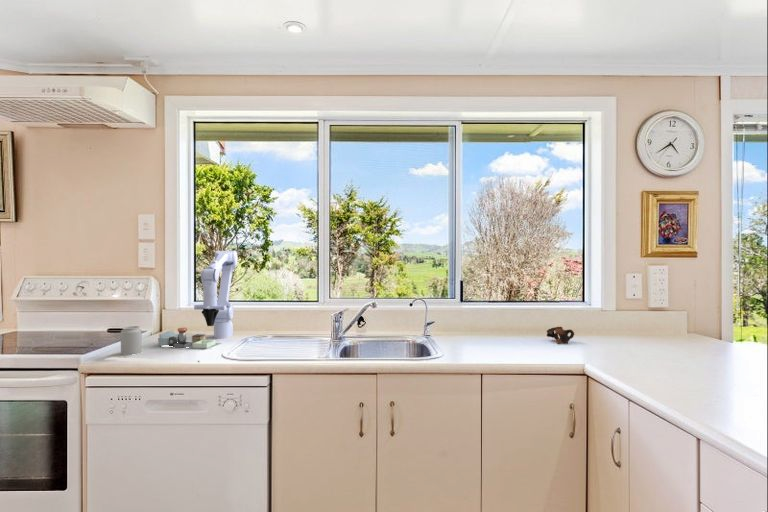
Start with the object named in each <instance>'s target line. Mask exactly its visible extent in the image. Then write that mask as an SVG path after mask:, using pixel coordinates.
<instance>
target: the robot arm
mask: <svg viewBox="0 0 768 512" xmlns="http://www.w3.org/2000/svg"><path fill="white" fill-rule="evenodd" d="M237 265H238V252H237V250H216V251H215V253H214V260H212V261H211V262H210V263H209V265H208V266H207V268H203V269H202V270H201V272H200V280H201V285H202V287H203V288H202V290H203V291H202V295H203V297H202V299H203V303H202V304H194V306H193V309H194V310H195V311H196V310H197V311H198V310H202V311H201V314H202V316H203V317H204V320H205V323H206V326H207V327H213V338H214V339H215V340H217V339H218V340H219V339H220V340H221V339H223V340H224V339H228V338H230V337H232V336H234V324H233V322H232V319H233V318H234V305H233V304H232V303H231V302H230V301H229V297H230V291H231V284H232V283H231V282H232V276H233V271H234V270H235V269H237ZM220 273H221V277H220ZM219 278H220V284H219V285H220V286H219V291H218V281H219Z"/></svg>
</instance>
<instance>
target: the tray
mask: <svg viewBox="0 0 768 512" xmlns="http://www.w3.org/2000/svg"><path fill="white" fill-rule="evenodd" d="M216 340H217V339H215V340H213V339H205V340H200V341H198V342H195V343H192V346H193V349H192V350H209V349H211V348H214V347H216V346H217V345H216V343H217V341H216ZM215 345H216V346H215ZM213 346H214V347H213ZM210 347H211V348H210ZM208 348H209V349H208Z"/></svg>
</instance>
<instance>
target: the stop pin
mask: <svg viewBox="0 0 768 512" xmlns="http://www.w3.org/2000/svg"><path fill="white" fill-rule="evenodd" d="M187 331H188V327H178V328H177V332H178V334H179V344H186V342H187Z"/></svg>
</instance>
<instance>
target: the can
mask: <svg viewBox="0 0 768 512" xmlns="http://www.w3.org/2000/svg"><path fill="white" fill-rule="evenodd" d="M121 329H122V330H121V331H120V355H121V356H133V355H132V354H136V355H138V354H137V353H140V354H141V352H142V353H143V349H142V347H143V343H142V339H143V338H142V329H140V326H138V325H133V326H130V325H129V326H126V327H125V326H124V327H122V328H121Z"/></svg>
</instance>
